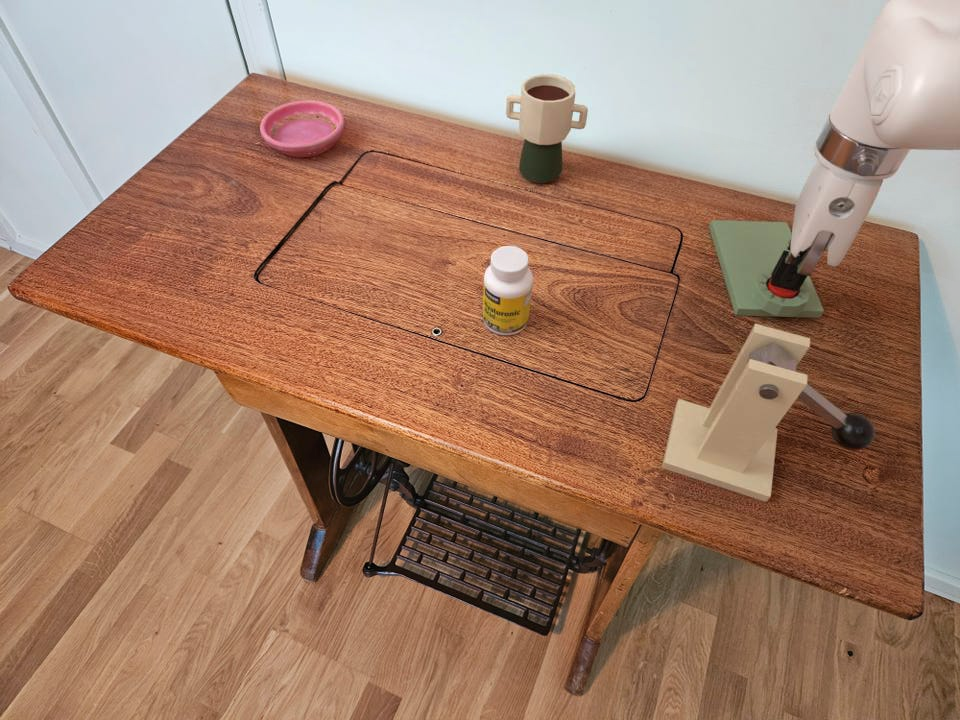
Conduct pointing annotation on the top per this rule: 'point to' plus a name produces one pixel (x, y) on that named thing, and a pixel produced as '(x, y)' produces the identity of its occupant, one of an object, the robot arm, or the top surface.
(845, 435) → the lever
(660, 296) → the top surface
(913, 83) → the robot arm
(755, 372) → the switch bracket
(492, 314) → the supplement bottle
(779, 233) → the button box
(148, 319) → the top surface
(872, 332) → the top surface
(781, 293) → the button
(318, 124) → the saucer
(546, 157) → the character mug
